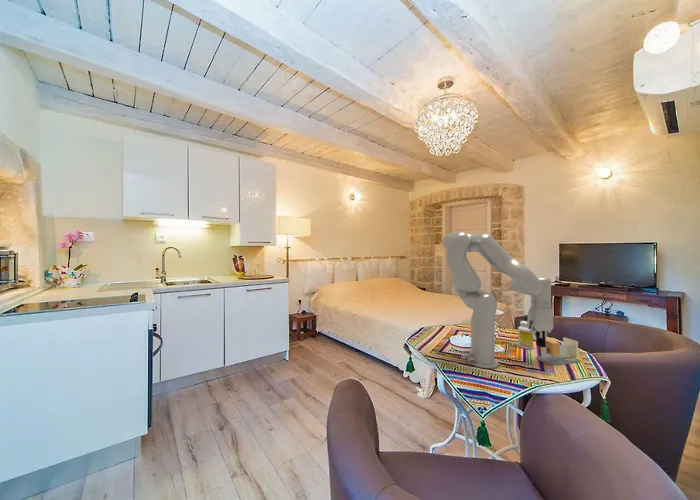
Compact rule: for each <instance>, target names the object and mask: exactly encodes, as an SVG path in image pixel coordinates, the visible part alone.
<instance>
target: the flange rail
mask: <svg viewBox="0 0 700 500" xmlns="http://www.w3.org/2000/svg"><path fill="white" fill-rule="evenodd" d="M562 338H563V339H562V340H563V341H562V345H561V344H560V355H559V356H551V355H550V348H548V347H543V352H542V355H539V356H535V360H538V361H540V362H542V363H544V364H546V365H549V366H551V367H554V366H562V365H569V364H576V363H577V364H578V363H581V359H579V341H577V340H574V339H571V338H568V337H562Z"/></svg>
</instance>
